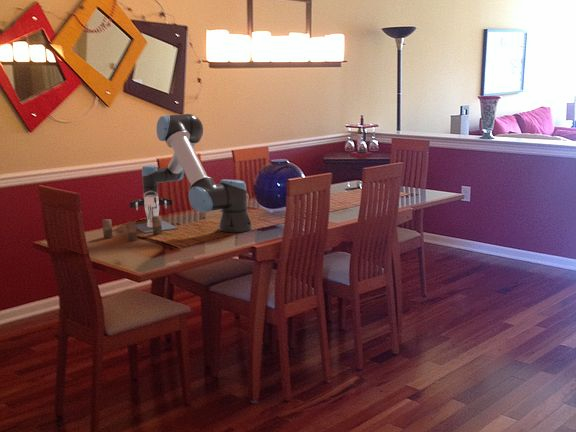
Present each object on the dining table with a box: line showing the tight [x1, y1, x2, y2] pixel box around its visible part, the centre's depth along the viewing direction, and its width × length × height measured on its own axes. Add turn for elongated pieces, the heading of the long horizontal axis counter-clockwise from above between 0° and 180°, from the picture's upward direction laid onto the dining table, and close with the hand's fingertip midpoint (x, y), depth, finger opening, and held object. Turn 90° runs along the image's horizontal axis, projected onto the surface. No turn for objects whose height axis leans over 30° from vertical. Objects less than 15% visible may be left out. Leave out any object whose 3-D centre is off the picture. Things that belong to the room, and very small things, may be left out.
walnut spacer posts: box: [102, 215, 163, 242], centre depth 319 cm, size 16×25×8 cm, turn 119°
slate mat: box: [136, 220, 179, 234], centre depth 338 cm, size 20×16×1 cm
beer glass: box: [143, 194, 160, 228], centre depth 335 cm, size 7×7×15 cm
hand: (151, 206), depth 335 cm, fingers open, 13 cm apart
